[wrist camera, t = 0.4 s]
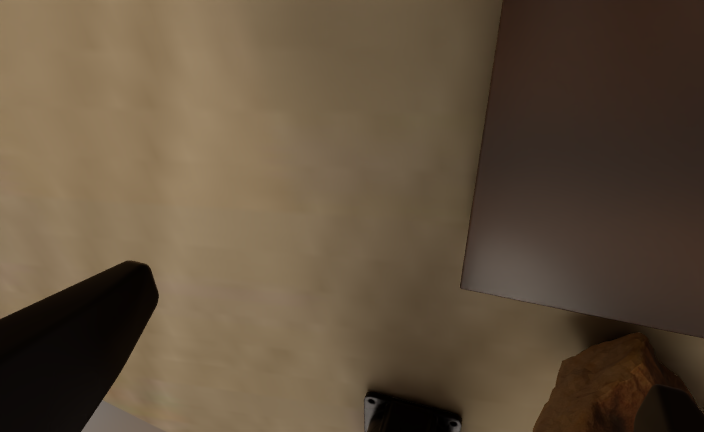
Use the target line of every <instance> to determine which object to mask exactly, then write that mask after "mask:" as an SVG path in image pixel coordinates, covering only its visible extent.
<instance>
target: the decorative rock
mask: <svg viewBox="0 0 704 432" xmlns="http://www.w3.org/2000/svg"><path fill="white" fill-rule="evenodd" d="M655 384H661V385H665V386H670V387H674V388H678V389H681V390H683V391H685V392H686V393H687V394H688V395H689V396H690V397H691V398H692V400H693V401H694V402H695V400H694V398H693V396H692V394H691V393H690V391H689V390H688V388H687V387H686V385H685V384H684V383H683V381H682V380H681V378H680V377H679V376H677V375H675V374H674V373H673V372H671V371H670V370H668V369H667V368H666V367H665V366H664V365H663V364H661V363H659V362H658V361H657V359H656V357H655V353H654V349H653V348H652V346H651V345H650V343H649V340H648V338H647V337H646V336H645V335H644V334H642V333H639V332H636V333H634V334H628V335H626V336H623V337H621V338H618V339H615V340H612V341H607V342H602V343H600V344H598V345H593V346H591V347H589V348H588V349H586V350H584V351H582V352H581V353H579V354H578V355H576V356H572V357H570V358H568V359H566V360H564V361H562V364H561V367H560V370H559V373H558V376H557V381H556V387H555V388H554V389H553V390H552V393H551V395H550V398H549V401H548V402H547V403H546V404H545V405H544V407H543V409H542V411H541V413H540V415H539V417H538V419H537V421H536V423H535V426H534V428H533V432H634V420H635V416H636V414H637V412H638V410H639V408H640V406H641V404H642V403H643V401H644V399H645V397H646V395H647V394H648V392H649V390H650V389H651V387H652V386H653V385H655ZM695 404H696V402H695ZM696 405H697V404H696Z"/></svg>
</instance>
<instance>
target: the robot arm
mask: <svg viewBox="0 0 704 432" xmlns="http://www.w3.org/2000/svg"><path fill="white" fill-rule="evenodd" d="M158 298H159V294H158V290H157V287H156V284H155V281H154V278H153V274H152V271H151V269H150V267H149V266H148V265H147V264H144V263H140V262H136V261H125V262H123V263H120V264H118V265H116V266H114V267H112V268H110V269H107V270H105V271H103V272H101V273H99V274H97V275H95V276H92V277H90V278H88V279H86V280H84V281H82V282H79V283H77V284H75V285H73V286H71V287H69V288H67V289H64V290H62V291H60V292H58V293H56V294H54V295H51V296H49V297H47V298H45V299H43V300H41V301H39V302H36V303H34V304H32V305H30V306H28V307H26V308H23V309H21V310H19V311H17V312H15V313H13V314H10V315H8V316H6V317H4V318H2V319H0V432H81V431H82V429H83V428H84V426H85V425H86V423H87V422H88V421H89V419H90V418H91V416H92V415H93V413H94V412H95V410H96V409H97V407H98V406H99V404H100V403H101V401H102V400H103V398H104V397H105V395H106V394H107V392H108V391H109V389H110V388H111V386H112V385H113V383H114V382H115V380H116V379H117V377H118V375H119V374H120V372H121V371H122V369H123V367H124V365H125V364H126V362H127V360H128V358H129V356H130V354H131V353H132V351H133V349H134V347H135V345H136V343H137V341H138V340H139V338H140V336H141V334H142V332H143V330H144V328H145V326H146V325H147V323H148V321H149V319H150V317H151V315H152V313H153V312H154V310H155V308H156V306H157V303H158ZM364 419H365V432H460V430H461V425H462V418H461V417H460V416H459V415H457V414H453V413H450V412H446V411H442V410H438V409H435V408H431V407H427V406H423V405H420V404H416V403H412V402H408V401H405V400H401V399H397V398H394V397H390V396H386V395H382V394H379V393H375V392H367V393H366V396H365V399H364ZM634 432H704V414H703V413H702V412H701V410H700V409H699V408H698V406H697V405H696V404H695V402H694V401H693V400H692V398H691V397H690V396H689V395H688V394H687V393H686V392H685V391H683V390H681V389H678V388H674V387H670V386H665V385H661V384H655V385H653V386H652V387H651V389H650V390H649V392H648V394H647V395H646V397H645V399H644V401H643V403H642V404H641V406H640V408H639V410H638V412H637V414H636V416H635V420H634Z"/></svg>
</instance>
